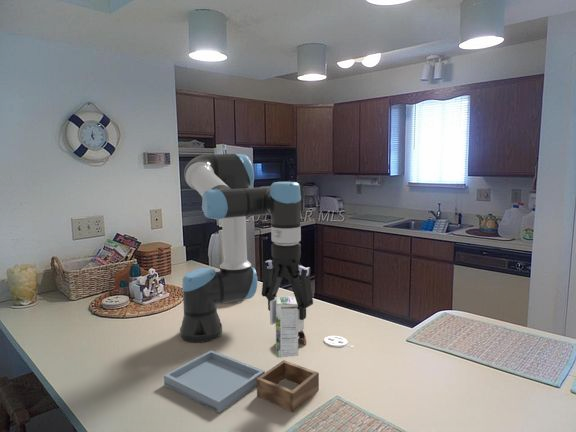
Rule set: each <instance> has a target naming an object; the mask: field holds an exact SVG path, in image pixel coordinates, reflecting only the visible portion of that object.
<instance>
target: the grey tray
mask: <svg viewBox="0 0 576 432" xmlns="http://www.w3.org/2000/svg"><path fill="white" fill-rule="evenodd" d="M264 373H266V372H265V370H263V369H260V368H258V367H255V366H253V365H251V364H248V363H246V362H243V361H240V360H238V359H235V358H232V357H229V356H227V355H224V354H223V353H219V352H217V351H214V350H212V349H211V350H208V351H207V352H205V353H202V354H201V355H200V356H197V357H196V358H194V359H192V360H190V361H188V362H187V363H184V364H182V365H180V366H179V367H177V368H175V369H173V370H171V371H169V372H167V373H166V374H164V375H163V384H164V386H165V387H168V388H169V389H172V390H173V391H175V392H177V393H179V394H181V395H183V396H185V397H187V398H188V399H191V400H193V401H194V402H196V403H199V404H201V405H202V406H205V407H207V408H208V409H210V410H212V411H214V412H216V413H218V414H220V413H221V412H222V413H223V411H224V410H226V409H227V408H230V406H231V405H233V404H234V403H236V402H237V401H239V400H240V399H242V398H243V397H244V396H246V395H247V394H249V393H250V392H252V391H253V390H254V389H255V388H256V389H257V378H258V377H260V376H261V375H263V374H264Z"/></svg>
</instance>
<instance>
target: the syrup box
mask: <svg viewBox="0 0 576 432" xmlns="http://www.w3.org/2000/svg"><path fill="white" fill-rule="evenodd" d="M275 298H276V323H275V353H276V357H277V358H285V357H298V356H299V337H298V333H297V332H296V311H295V308H296V307H298V304H297V301H296V298H295V296H277V297H275Z"/></svg>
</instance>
